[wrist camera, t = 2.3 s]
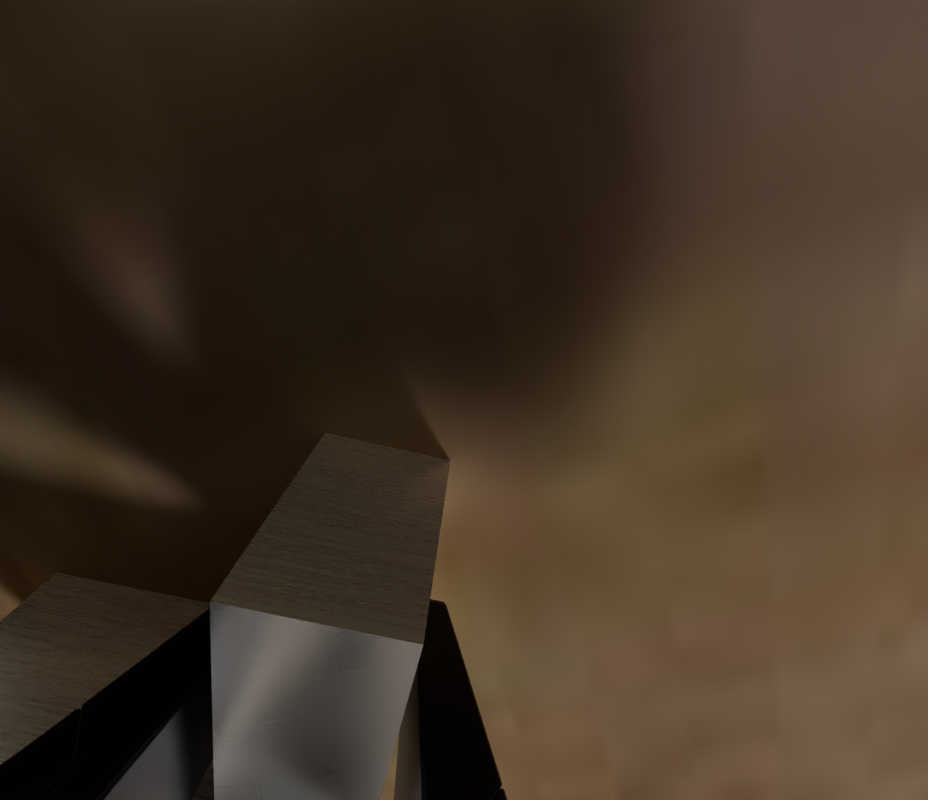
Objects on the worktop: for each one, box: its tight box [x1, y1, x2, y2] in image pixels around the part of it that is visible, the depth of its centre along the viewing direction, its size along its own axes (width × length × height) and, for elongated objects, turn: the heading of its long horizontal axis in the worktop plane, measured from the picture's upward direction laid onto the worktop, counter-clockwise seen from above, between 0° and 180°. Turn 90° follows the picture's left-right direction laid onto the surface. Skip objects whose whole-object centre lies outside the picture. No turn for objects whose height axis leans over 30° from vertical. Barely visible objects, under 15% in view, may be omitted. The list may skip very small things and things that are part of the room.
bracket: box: [0, 433, 450, 800], centre depth 9 cm, size 8×8×4 cm
